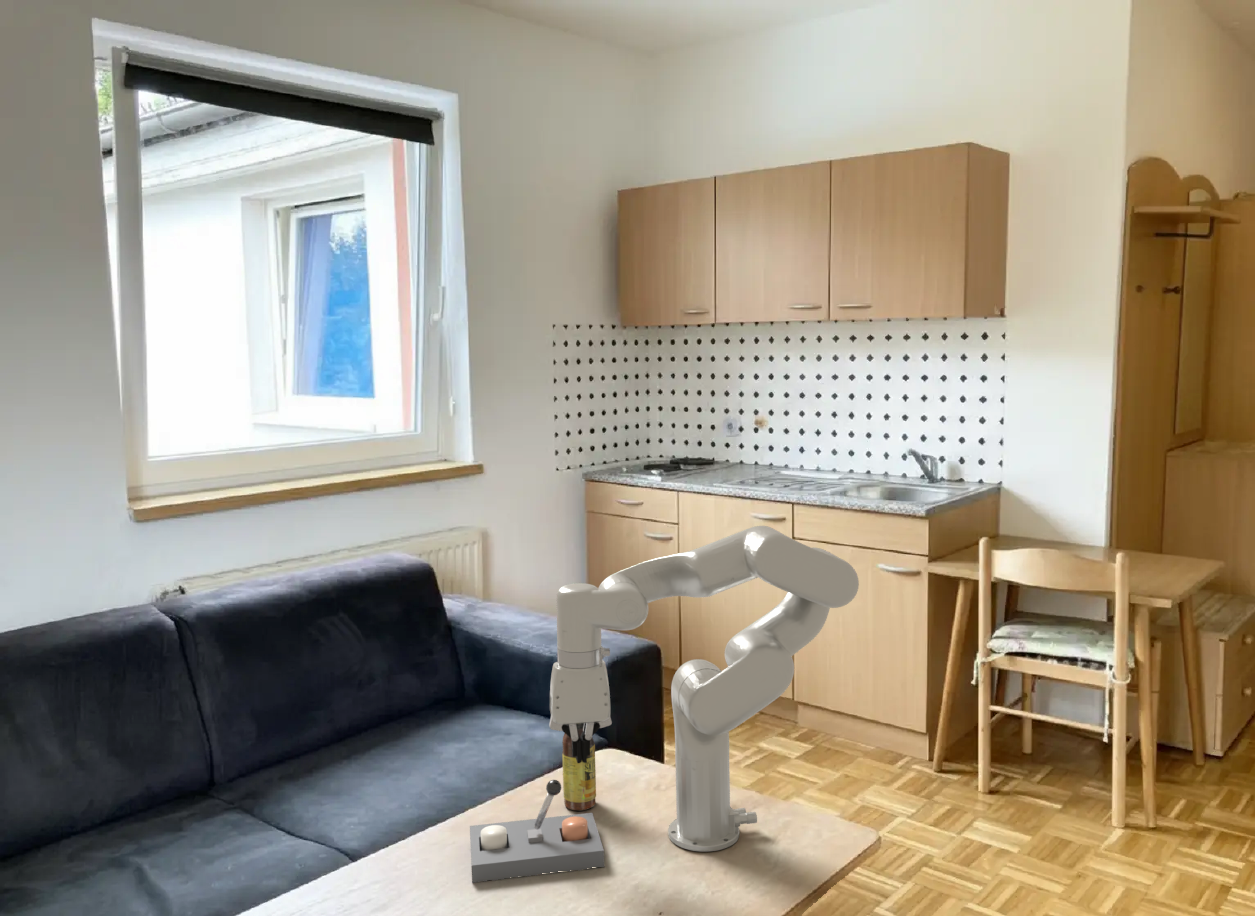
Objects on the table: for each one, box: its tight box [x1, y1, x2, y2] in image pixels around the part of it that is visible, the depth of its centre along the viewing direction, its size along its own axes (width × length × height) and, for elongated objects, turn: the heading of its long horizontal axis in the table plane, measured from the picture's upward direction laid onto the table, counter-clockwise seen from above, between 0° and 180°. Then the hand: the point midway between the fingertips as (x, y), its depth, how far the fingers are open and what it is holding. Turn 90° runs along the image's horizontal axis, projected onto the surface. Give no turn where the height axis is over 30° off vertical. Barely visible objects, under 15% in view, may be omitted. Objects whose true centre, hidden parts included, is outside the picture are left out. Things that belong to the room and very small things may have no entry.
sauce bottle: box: [562, 723, 597, 812], centre depth 191 cm, size 6×6×20 cm
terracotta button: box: [562, 817, 588, 842], centre depth 175 cm, size 4×4×4 cm
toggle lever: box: [534, 779, 562, 830], centre depth 173 cm, size 3×3×9 cm
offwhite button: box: [481, 825, 507, 851], centre depth 172 cm, size 4×4×4 cm
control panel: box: [469, 812, 605, 884], centre depth 174 cm, size 22×14×4 cm, turn 100°
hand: (581, 759), depth 173 cm, fingers closed
